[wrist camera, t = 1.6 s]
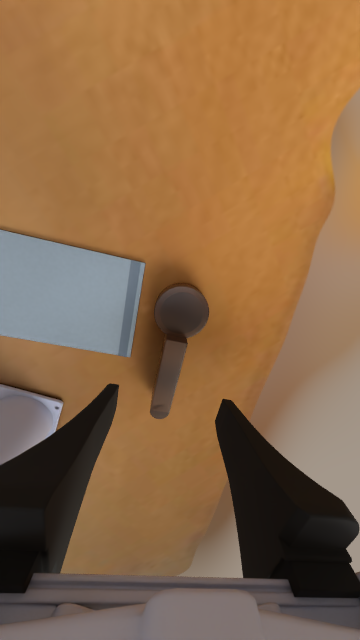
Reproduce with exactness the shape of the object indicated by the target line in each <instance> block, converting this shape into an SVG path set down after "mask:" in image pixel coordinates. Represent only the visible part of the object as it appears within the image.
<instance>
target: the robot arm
mask: <svg viewBox="0 0 360 640" xmlns="http://www.w3.org/2000/svg"><path fill="white" fill-rule="evenodd" d="M118 389H119V385H117V384H108V385H107V386H106V387H105V388H104V390H103V391H102V392H101V393H100V394H99V395H98V396H97V397H96V398H95V399H94V400H93V401H92V402H91V403H90V404H89V405H88V406H87V407H86V408H84V409H83V410H82V411H81V412H80V413H79V414H78V415H76V416H75V417H74V418H73V419H72V420H70V421H69V422H68V423H67V424H65V425H64V426H63V427H61V428H60V429H59V430H57V431H56V428H57V424H58V421H59V417H60V414H61V410H62V406H63V402H62V401H61V400H58V399H54V398H51V397H47V396H43V395H39V394H36V393H32V392H28V391H25V390H21V389H17V388H13V387H10V386H6V385H2V384H0V640H360V572H357V573H354V571H353V569H352V567H351V565H350V564H349V563H351V562H352V559H351V557H350V555H349V554H348V552H347V550H346V548H347V547H348V546H349V544H350V543H351V542H352V541H353V540H354V539H355V538H356V536H357V535H358V533H359V524H358V522H357V521H356V519H355V518H354V516H353V515H352V514H351V512H350V511H349V509H348V508H347V506H346V505H345V504H344V502H343V501H342V500H340V499H339V498H338V497H336V496H335V495H333V494H332V493H331V492H329V491H328V490H326V489H324V488H323V487H322V486H320V485H318V484H317V483H316V482H315V481H313V480H312V479H310V478H309V477H308V476H306V475H305V474H304V473H303V472H301V471H300V470H299V469H298V468H296V467H295V466H294V465H293V464H292V463H290V462H289V461H288V460H287V459H286V458H284V457H283V456H282V455H281V454H280V453H279V452H278V451H277V450H276V449H275V448H274V447H272V445H270V444H269V443H268V442H267V441H266V440H265V439H264V437H263V436H262V435H261V434H260V433H259V432H258V431H257V430H256V429H255V428H254V427H253V425H251V423H250V422H249V421H248V420H247V418H246V417H245V416H244V415H243V414H242V412H241V411H240V410H239V409H238V408H237V406H236V405H235V404H234V403H233V402H232V401H231V400H227V399H223V400H222V403H221V405H220V408H219V411H218V414H217V417H216V420H215V424H216V431H217V437H218V441H219V445H220V449H221V452H222V456H223V460H224V463H225V467H226V471H227V475H228V479H229V483H230V489H231V494H232V500H233V506H234V512H235V518H236V525H237V532H238V539H239V546H240V553H241V562H242V571H243V578H213V577H176V576H137V575H98V574H60V571H61V568H62V565H63V561H64V558H65V555H66V552H67V548H68V545H69V542H70V538H71V535H72V532H73V529H74V526H75V522H76V519H77V516H78V513H79V510H80V507H81V504H82V501H83V497H84V494H85V491H86V488H87V485H88V482H89V479H90V476H91V473H92V470H93V467H94V465H95V462H96V460H97V457H98V455H99V453H100V450H101V448H102V446H103V443H104V441H105V439H106V436H107V434H108V431H109V429H110V427H111V424H112V421H113V418H114V414H115V411H116V406H117V397H118Z"/></svg>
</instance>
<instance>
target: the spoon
mask: <svg viewBox="0 0 360 640" xmlns="http://www.w3.org/2000/svg"><path fill="white" fill-rule="evenodd" d="M154 316H155V320H156V323H157V325H158V327H159V328H160V329H161V330H162V331H163V332H164V333H165V337H164V341H163V346H162V351H161V355H160V360H159V364H158V369H157V373H156V378H155V383H154V387H153V393H152V400H151V408H150V413H151V415H152V416H153V417H154V418H156V419H163V418H165V417H167V416H168V414H169V412H170V408H171V404H172V401H173V397H174V393H175V389H176V386H177V382H178V378H179V374H180V370H181V367H182V363H183V359H184V355H185V352H186V348H187V344H188V343H187V338H189V337H192V336H194V335H196V334H197V333H199V332H200V331H201V330H202V329H203V328H204V326H205V325H206V323H207V320H208V317H209V307H208V303H207V301H206V299H205V297H204V296H203V295H202V293H201V292H200V291H199V290H198V289H197V288H195V287H194V286H192V285H189V284H185V283H177V284H173V285H170V286H168V287H167V288H165V289H164V290H163V291H162V292H161V293H160V295H159V296H158V299H157V301H156V305H155V309H154Z"/></svg>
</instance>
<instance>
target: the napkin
mask: <svg viewBox="0 0 360 640" xmlns="http://www.w3.org/2000/svg"><path fill="white" fill-rule="evenodd" d="M144 269H145V263H143V262H138V261H134V260H130V259H125V258H121V257H117V256H112V255H108V254H104V253H100V252H95V251H91V250H87V249H82V248H78V247H74V246H69V245H65V244H61V243H56V242H52V241H48V240H43V239H39V238H35V237H30V236H26V235H22V234H17V233H13V232H9V231H5V230H0V335H2V336H8V337H14V338H20V339H26V340H32V341H37V342H43V343H49V344H55V345H61V346H67V347H73V348H79V349H85V350H91V351H96V352H102V353H108V354H114V355H119V356H124V357H130V356H131V350H132V343H133V337H134V331H135V325H136V319H137V312H138V306H139V300H140V294H141V288H142V281H143V275H144Z"/></svg>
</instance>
